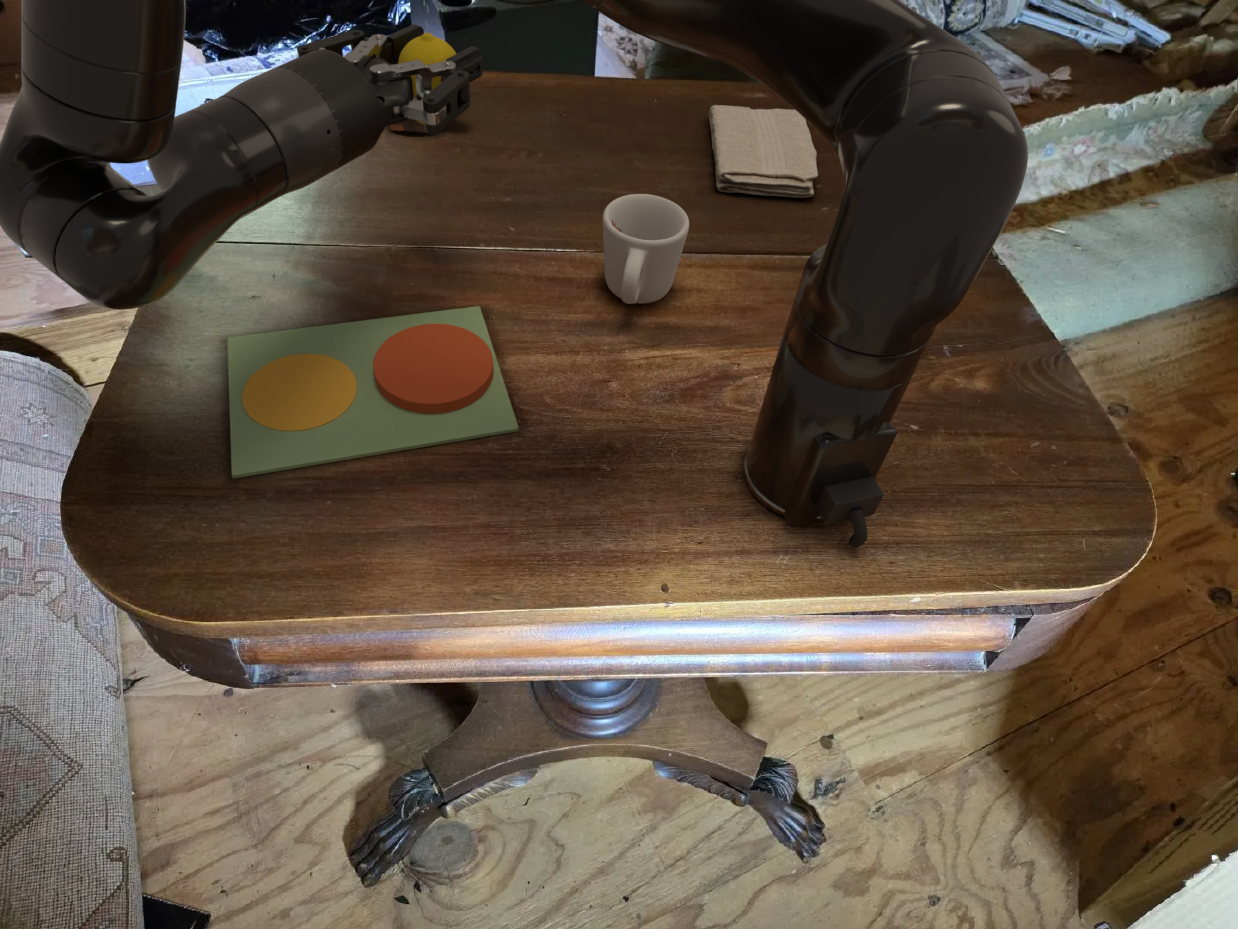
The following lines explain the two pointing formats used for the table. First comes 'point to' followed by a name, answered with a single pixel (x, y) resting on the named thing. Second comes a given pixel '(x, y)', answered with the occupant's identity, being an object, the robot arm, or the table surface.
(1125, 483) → the table surface
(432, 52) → the lemon
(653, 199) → the cup
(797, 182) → the washcloth
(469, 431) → the placemat
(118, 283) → the robot arm
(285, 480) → the table surface
